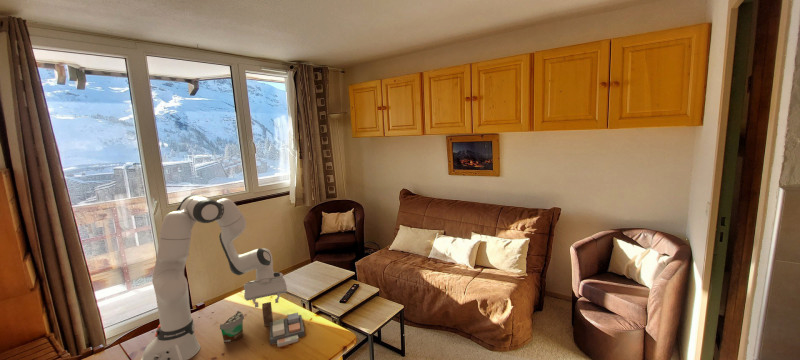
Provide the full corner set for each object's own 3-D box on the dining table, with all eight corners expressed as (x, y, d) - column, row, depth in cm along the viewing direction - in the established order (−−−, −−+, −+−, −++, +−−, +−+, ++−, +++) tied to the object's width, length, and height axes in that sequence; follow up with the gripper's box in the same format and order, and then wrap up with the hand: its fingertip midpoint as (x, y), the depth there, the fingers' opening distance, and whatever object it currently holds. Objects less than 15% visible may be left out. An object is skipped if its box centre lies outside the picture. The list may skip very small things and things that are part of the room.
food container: (233, 346, 146) (231, 326, 145) (222, 345, 147) (219, 325, 146) (251, 330, 158) (249, 311, 157) (240, 329, 159) (237, 310, 158)
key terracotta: (289, 335, 150) (289, 330, 150) (289, 330, 155) (288, 325, 155) (300, 332, 152) (300, 328, 152) (299, 327, 157) (299, 322, 156)
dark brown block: (264, 326, 161) (262, 307, 159) (264, 322, 164) (262, 303, 163) (272, 324, 162) (270, 305, 161) (272, 320, 166) (270, 301, 164)
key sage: (273, 331, 154) (272, 326, 154) (273, 326, 159) (272, 321, 158) (284, 328, 156) (283, 324, 156) (284, 323, 161) (283, 318, 160)
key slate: (288, 324, 157) (288, 320, 156) (288, 319, 161) (287, 314, 161) (299, 322, 158) (298, 317, 158) (298, 316, 163) (297, 312, 163)
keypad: (270, 348, 143) (269, 343, 143) (270, 327, 160) (269, 322, 159) (305, 339, 149) (304, 334, 148) (301, 319, 165) (301, 314, 165)
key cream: (273, 337, 148) (272, 332, 147) (273, 331, 152) (272, 326, 152) (284, 334, 149) (284, 329, 149) (284, 328, 154) (283, 323, 154)
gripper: (242, 280, 165) (243, 307, 157) (285, 272, 172) (287, 298, 164) (244, 284, 169) (245, 311, 162) (285, 277, 177) (288, 302, 169)
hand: (266, 304), depth 163 cm, fingers open, 8 cm apart
